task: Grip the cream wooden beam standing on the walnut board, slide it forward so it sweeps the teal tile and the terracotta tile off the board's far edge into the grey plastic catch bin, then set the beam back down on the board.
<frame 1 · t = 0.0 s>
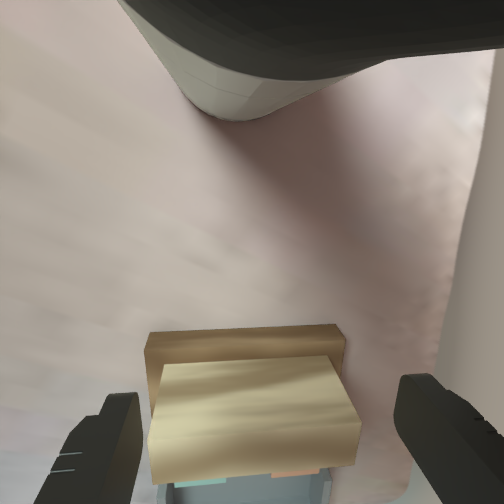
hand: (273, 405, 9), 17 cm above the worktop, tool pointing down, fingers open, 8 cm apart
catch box: (243, 477, 35), on the worktop
cream wooden beam: (247, 378, 27), point 2 cm above the worktop, touching board
board: (244, 394, 31), on the worktop
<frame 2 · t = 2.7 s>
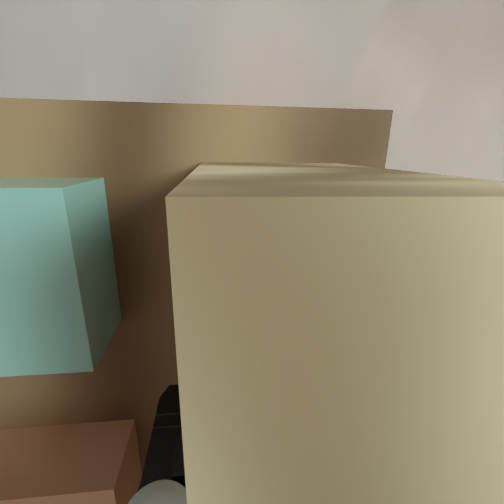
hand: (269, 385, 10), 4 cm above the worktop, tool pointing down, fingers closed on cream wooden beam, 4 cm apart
tile a: (33, 255, 9), point 2 cm above the worktop, touching board
tile b: (79, 470, 12), point 2 cm above the worktop, touching board
cream wooden beam: (265, 364, 11), point 2 cm above the worktop, touching board, gripper
board: (156, 331, 13), on the worktop
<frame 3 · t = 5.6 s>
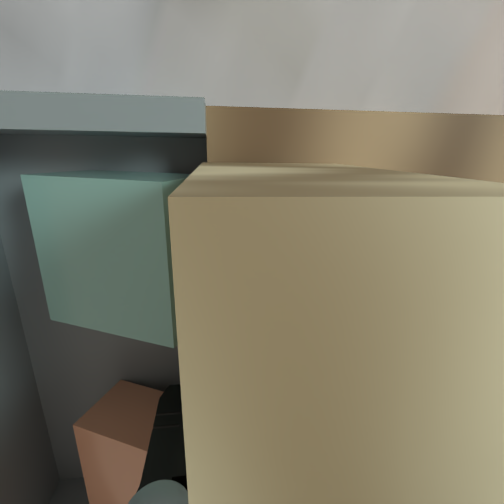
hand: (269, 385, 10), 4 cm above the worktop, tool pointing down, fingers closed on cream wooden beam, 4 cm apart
tile a: (152, 238, 11), point 2 cm above the worktop, tilted 25°, touching board, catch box, cream wooden beam
tile b: (169, 434, 14), point 2 cm above the worktop, tilted 25°, touching board, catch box, cream wooden beam
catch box: (116, 327, 13), on the worktop
cream wooden beam: (264, 363, 11), point 3 cm above the worktop, touching gripper, tile a, tile b
board: (377, 314, 15), on the worktop
when the fingers open (4 cm above the worktop, at t = 10.5 s): cream wooden beam stays where it is, resting on board.
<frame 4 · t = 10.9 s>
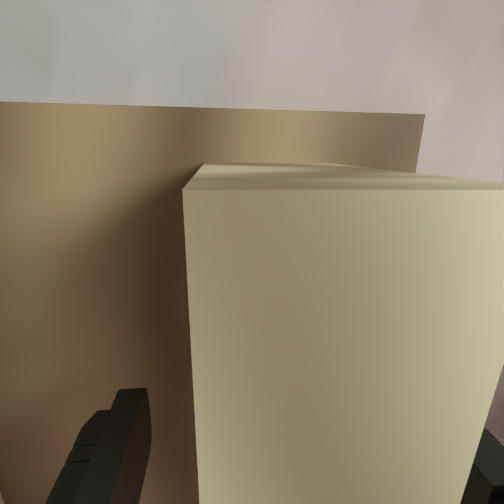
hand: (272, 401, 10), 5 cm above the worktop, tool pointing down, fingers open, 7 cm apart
cream wooden beam: (263, 353, 12), point 2 cm above the worktop, touching board
board: (192, 322, 14), on the worktop
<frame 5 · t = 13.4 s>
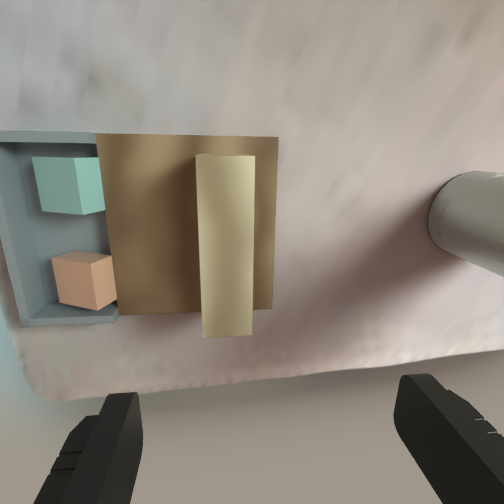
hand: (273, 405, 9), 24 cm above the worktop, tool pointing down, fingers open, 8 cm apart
tile a: (81, 183, 28), point 2 cm above the worktop, tilted 25°, touching board, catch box
tile b: (95, 274, 31), point 2 cm above the worktop, tilted 25°, touching board, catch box
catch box: (72, 226, 31), on the worktop
cream wooden beam: (224, 231, 30), point 2 cm above the worktop, touching board
board: (195, 225, 32), on the worktop
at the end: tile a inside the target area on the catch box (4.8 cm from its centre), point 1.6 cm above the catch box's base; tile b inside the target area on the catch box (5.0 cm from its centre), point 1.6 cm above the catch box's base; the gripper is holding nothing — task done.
